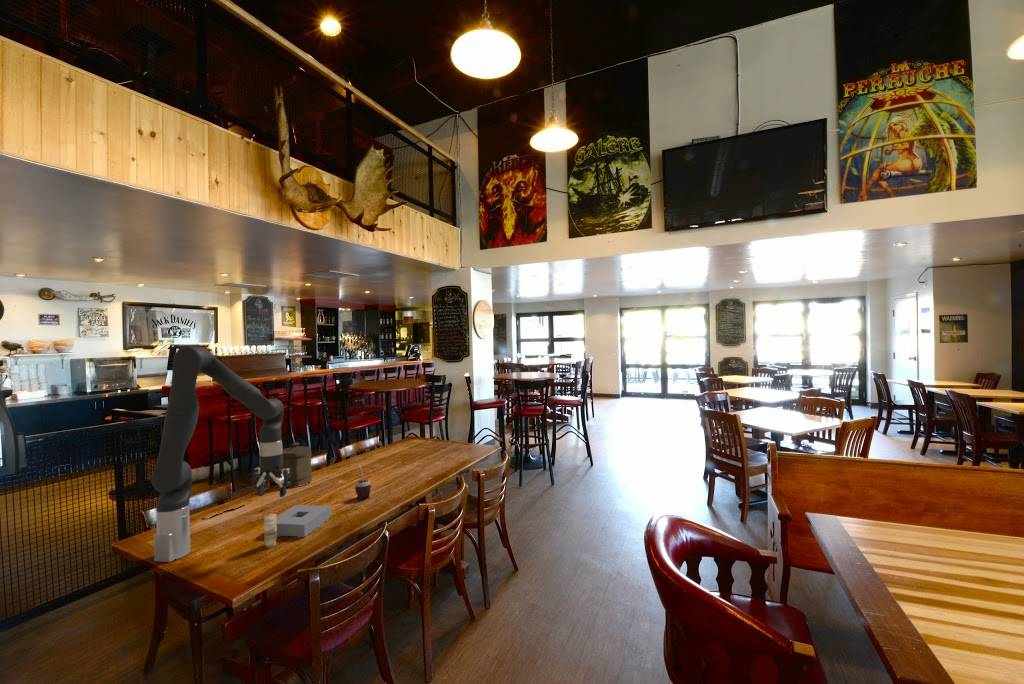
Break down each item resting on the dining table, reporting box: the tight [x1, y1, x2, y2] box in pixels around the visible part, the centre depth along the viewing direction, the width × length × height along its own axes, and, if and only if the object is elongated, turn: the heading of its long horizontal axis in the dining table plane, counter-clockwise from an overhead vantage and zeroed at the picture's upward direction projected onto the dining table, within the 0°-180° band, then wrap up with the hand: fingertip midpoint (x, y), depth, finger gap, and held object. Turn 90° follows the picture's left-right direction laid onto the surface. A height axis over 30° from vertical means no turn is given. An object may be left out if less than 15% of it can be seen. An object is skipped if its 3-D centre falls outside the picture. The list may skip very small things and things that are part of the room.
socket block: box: [276, 504, 331, 538], centre depth 172 cm, size 18×16×5 cm
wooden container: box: [282, 441, 313, 488], centre depth 225 cm, size 15×15×22 cm
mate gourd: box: [354, 464, 372, 501], centre depth 202 cm, size 8×8×15 cm
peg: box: [263, 513, 278, 549], centre depth 156 cm, size 4×4×11 cm
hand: (272, 496), depth 157 cm, fingers open, 8 cm apart
